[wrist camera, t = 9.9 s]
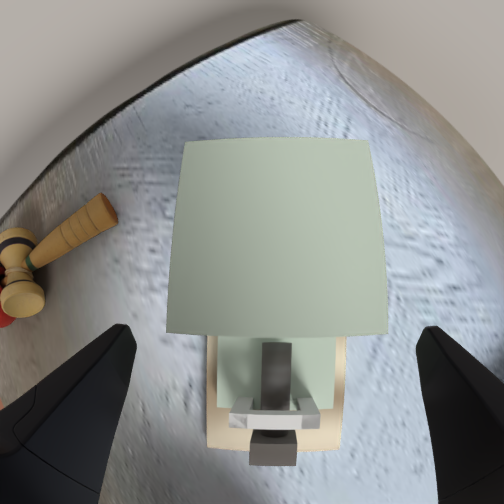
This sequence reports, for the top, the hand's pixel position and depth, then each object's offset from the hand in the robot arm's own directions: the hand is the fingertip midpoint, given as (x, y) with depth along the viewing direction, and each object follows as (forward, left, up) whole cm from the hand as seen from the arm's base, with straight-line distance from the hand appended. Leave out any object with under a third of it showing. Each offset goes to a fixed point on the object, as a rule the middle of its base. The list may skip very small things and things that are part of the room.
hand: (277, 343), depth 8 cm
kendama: (-13, +17, -12) cm, 24 cm away
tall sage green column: (0, 0, -10) cm, 10 cm away
